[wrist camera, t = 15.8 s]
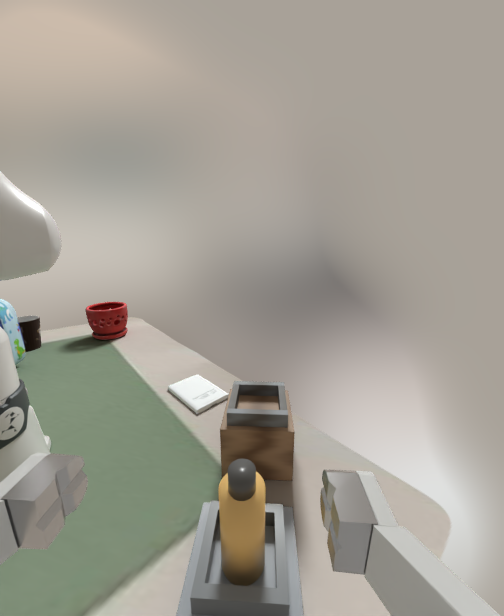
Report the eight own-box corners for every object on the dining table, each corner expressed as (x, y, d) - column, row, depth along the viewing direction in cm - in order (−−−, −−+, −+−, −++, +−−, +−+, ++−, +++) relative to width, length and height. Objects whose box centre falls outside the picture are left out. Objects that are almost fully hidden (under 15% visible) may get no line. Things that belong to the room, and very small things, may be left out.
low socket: (172, 643, 21) (169, 618, 20) (204, 508, 31) (202, 489, 31) (306, 654, 20) (307, 629, 19) (292, 513, 31) (292, 493, 30)
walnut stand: (222, 477, 36) (219, 416, 33) (231, 428, 45) (230, 378, 43) (292, 480, 35) (294, 418, 33) (286, 430, 45) (288, 380, 42)
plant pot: (83, 338, 92) (78, 306, 89) (118, 328, 103) (114, 300, 100) (101, 345, 85) (96, 311, 82) (137, 334, 96) (133, 304, 93)
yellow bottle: (217, 585, 23) (213, 491, 21) (225, 533, 28) (222, 450, 25) (264, 588, 23) (265, 494, 21) (264, 535, 28) (265, 452, 25)
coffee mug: (22, 344, 86) (16, 316, 84) (50, 342, 88) (45, 315, 85) (-4, 358, 75) (-13, 326, 73) (29, 356, 76) (21, 325, 74)
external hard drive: (198, 379, 64) (229, 399, 55) (168, 392, 58) (197, 416, 49) (198, 373, 63) (229, 392, 55) (167, 385, 58) (196, 409, 49)
